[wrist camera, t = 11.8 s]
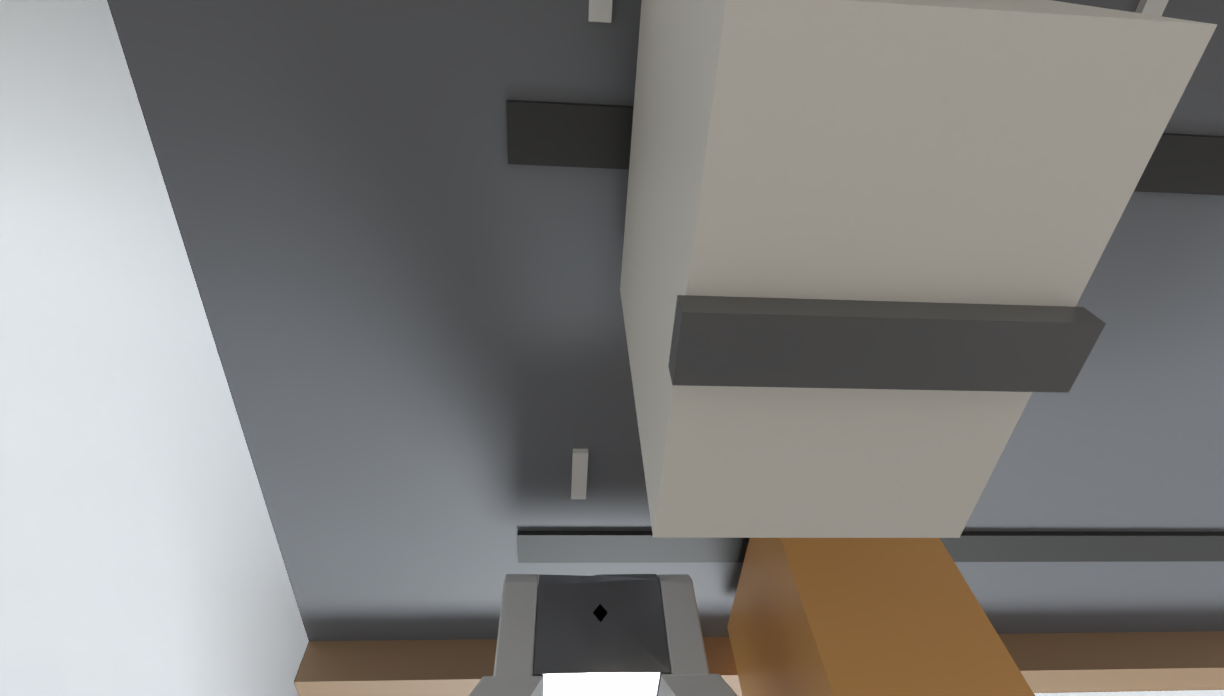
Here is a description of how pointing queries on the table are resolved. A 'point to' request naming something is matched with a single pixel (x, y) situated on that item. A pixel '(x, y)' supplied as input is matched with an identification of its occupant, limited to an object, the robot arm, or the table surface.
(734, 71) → the cream fader
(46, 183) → the table surface
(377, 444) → the console
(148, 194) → the table surface
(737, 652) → the orange fader
